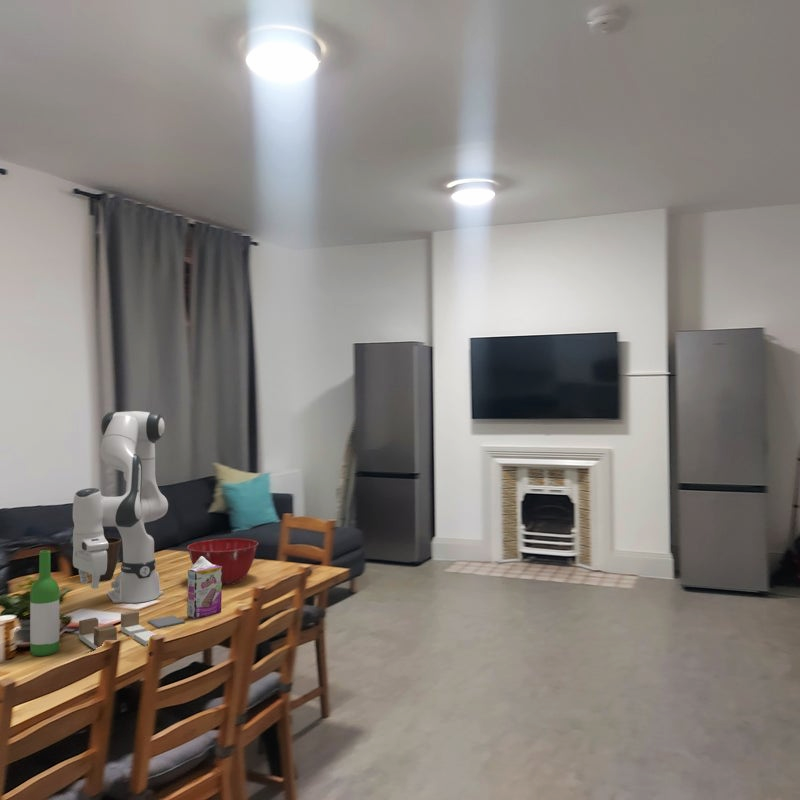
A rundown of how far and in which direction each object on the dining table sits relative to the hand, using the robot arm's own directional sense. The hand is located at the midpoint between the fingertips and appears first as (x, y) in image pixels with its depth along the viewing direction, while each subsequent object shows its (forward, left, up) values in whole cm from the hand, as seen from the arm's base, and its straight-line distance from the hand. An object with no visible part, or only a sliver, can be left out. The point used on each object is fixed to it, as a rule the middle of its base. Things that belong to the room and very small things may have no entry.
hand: (89, 585), depth 228 cm
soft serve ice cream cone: (-20, +48, -17) cm, 54 cm away
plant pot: (-75, +30, -17) cm, 82 cm away
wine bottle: (+4, -14, -17) cm, 22 cm away
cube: (+14, 0, -15) cm, 20 cm away
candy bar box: (0, +39, -17) cm, 42 cm away
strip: (+8, 0, -17) cm, 18 cm away
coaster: (0, +25, -17) cm, 30 cm away
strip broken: (+8, +13, -17) cm, 22 cm away
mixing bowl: (-38, +66, -17) cm, 78 cm away
